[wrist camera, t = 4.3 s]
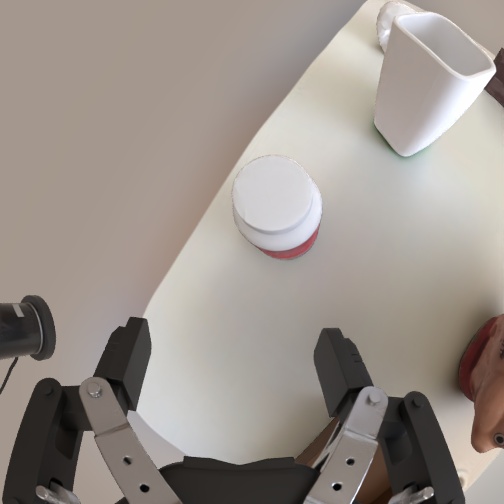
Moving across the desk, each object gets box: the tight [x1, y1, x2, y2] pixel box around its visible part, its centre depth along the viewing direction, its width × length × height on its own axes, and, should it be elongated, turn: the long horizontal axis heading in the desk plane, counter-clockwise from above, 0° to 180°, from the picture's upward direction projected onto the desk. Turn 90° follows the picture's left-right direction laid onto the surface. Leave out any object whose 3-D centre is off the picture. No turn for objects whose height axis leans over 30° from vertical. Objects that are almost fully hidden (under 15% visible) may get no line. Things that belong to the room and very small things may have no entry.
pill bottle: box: [232, 155, 322, 260], centre depth 20 cm, size 6×6×11 cm
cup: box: [374, 12, 496, 157], centre depth 17 cm, size 7×7×15 cm
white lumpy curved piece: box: [376, 1, 417, 53], centre depth 21 cm, size 6×8×12 cm
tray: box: [294, 417, 393, 504], centre depth 20 cm, size 14×12×3 cm
